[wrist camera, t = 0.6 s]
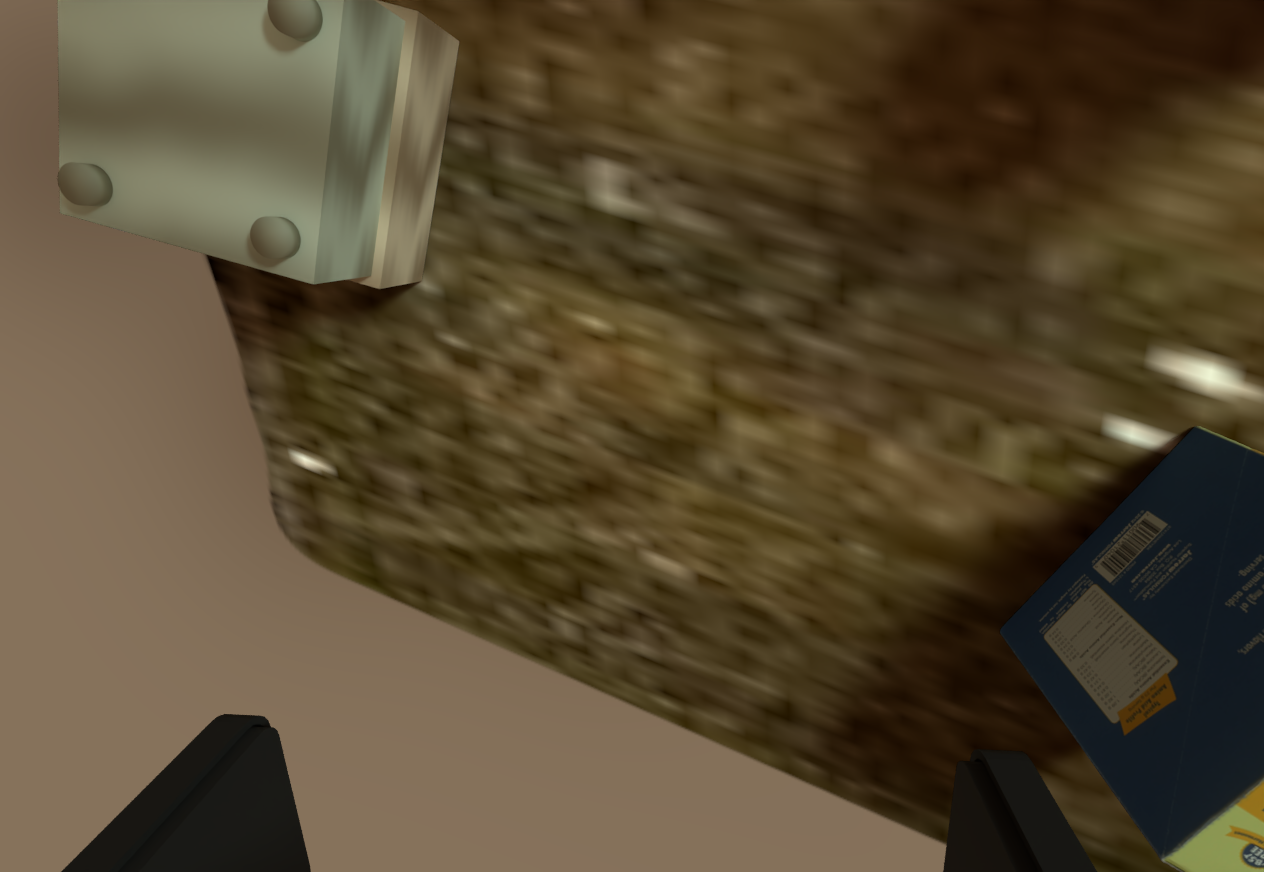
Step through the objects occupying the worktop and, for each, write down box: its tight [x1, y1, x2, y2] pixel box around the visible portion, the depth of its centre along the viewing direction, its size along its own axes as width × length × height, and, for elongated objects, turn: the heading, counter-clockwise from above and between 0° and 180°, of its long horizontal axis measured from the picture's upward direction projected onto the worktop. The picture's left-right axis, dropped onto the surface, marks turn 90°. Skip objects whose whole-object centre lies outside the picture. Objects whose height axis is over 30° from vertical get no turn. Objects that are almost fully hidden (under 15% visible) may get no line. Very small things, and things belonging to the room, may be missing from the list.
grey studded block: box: [58, 0, 459, 289], centre depth 31 cm, size 12×12×11 cm
